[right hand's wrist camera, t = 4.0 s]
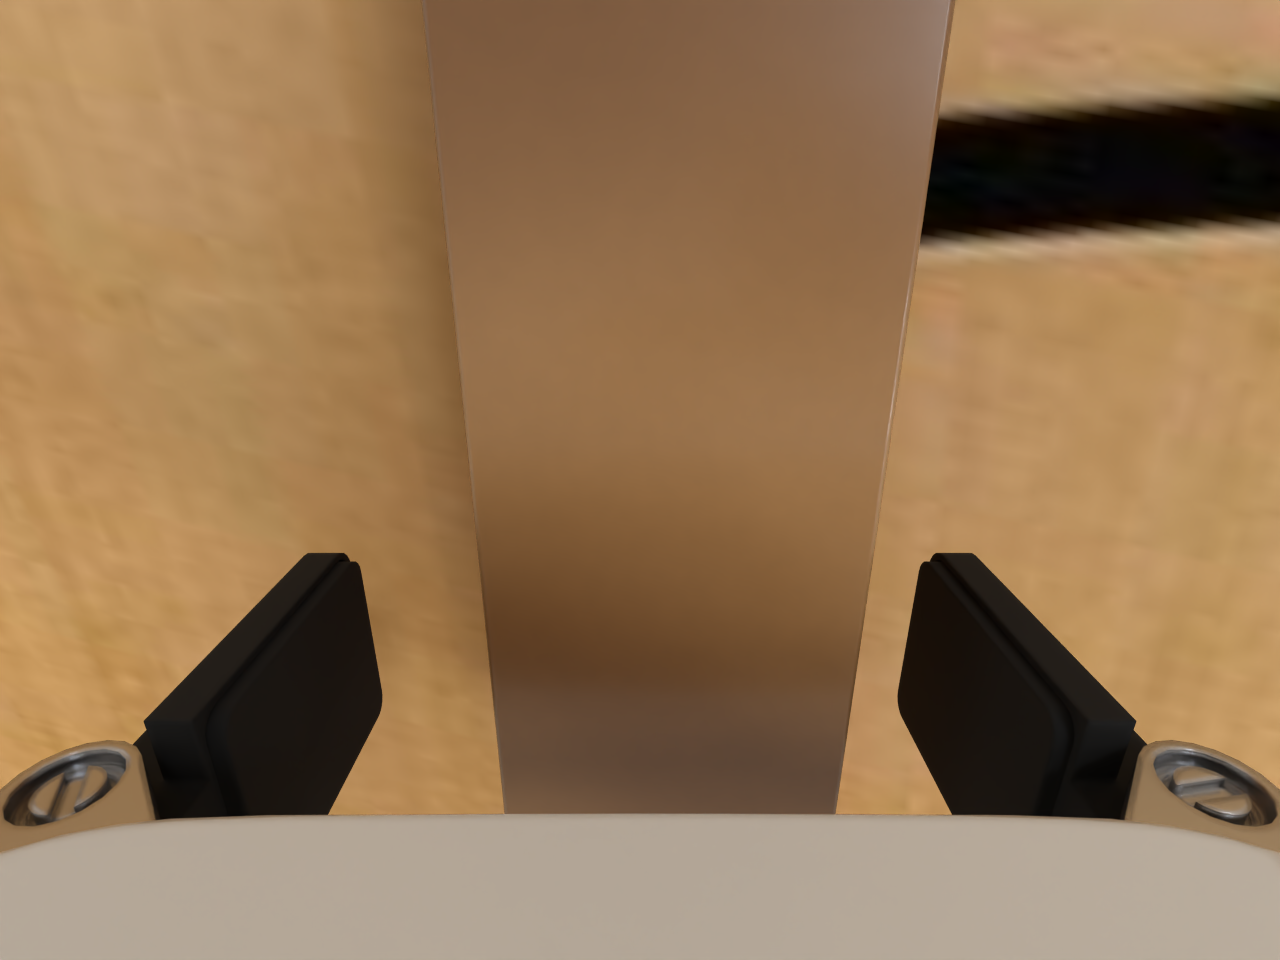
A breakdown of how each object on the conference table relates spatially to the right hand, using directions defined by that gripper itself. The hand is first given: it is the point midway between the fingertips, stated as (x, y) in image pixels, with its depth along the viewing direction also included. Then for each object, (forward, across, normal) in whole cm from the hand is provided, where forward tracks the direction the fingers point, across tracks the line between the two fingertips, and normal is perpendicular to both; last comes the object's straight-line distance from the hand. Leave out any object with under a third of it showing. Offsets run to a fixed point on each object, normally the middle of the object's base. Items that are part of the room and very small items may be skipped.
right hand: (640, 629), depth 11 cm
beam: (+6, 0, -23) cm, 24 cm away
